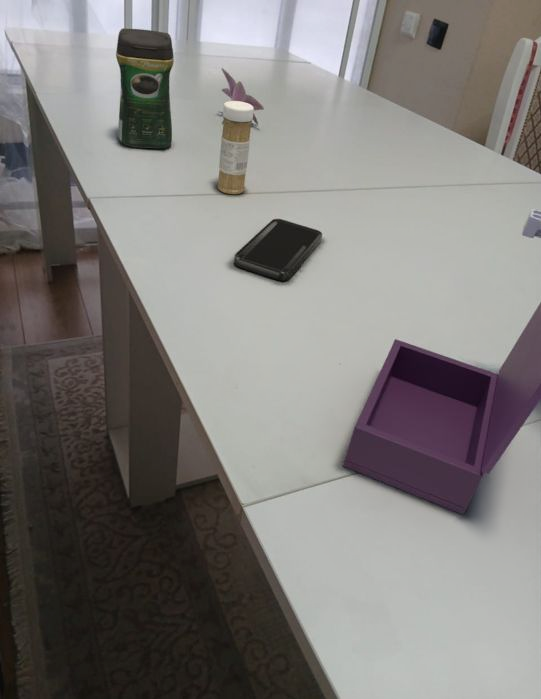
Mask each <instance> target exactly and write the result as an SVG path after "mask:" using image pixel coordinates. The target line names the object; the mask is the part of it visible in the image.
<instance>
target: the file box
mask: <svg viewBox="0 0 541 699" xmlns="http://www.w3.org/2000/svg"><path fill="white" fill-rule="evenodd" d="M498 374H499V373H496V372H492V371H490V370H487V369H485V368H481V367H478V366H476V365H472V364H469V363H467V362H463V361H460V360H457V359H454V358H452V357H449V356H446V355H444V354H440V353H437V352H435V351H431V350H430V349H426V348H422V347H419V346H417V345H414V344H411V343H408V342H405V341H403V340H399V339H397V338H395V339H394V341H393V342H392V345H391V347H390V349H389V352H388V353H387V356H386V358H385V360H384V361H383V365H382V367H381V369H380V371H379V373H378V375H377V378H376V380H375V382H374V384H373V386H372V388H371V391H370V392H369V394H368V397H367V399H366V401H365V403H364V406H363V408H362V410H361V412H360V415H359V416H358V418H357V421H356V423H355V425H354V427H353V432H352V434H351V438H350V441H349V444H348V448H347V450H346V455H345V457H344V461H343V464H342V467H345V468H347V469H349V470H351V471H354V472H357V473H359V474H362V475H363V476H366V477H369V478H371V479H374V480H376V481H378V482H381V483H384V484H386V485H389V486H391V487H393V488H396V489H398V490H401V491H404V492H405V493H408V494H410V495H413V496H416V497H418V498H421V499H423V500H426V501H428V502H431V503H432V504H435V505H438V506H440V507H443V508H445V509H448V510H450V511H453V512H454V513H458V514H460V515H464V514H465V511H466V510H467V508H468V506H469V504H470V502H471V500H472V499H473V496H474V494H475V492H476V491H477V489H478V487H479V485H480V483H481V481H482V479H483V477H484V473H483V472H481V470H482V464H483V458H484V453H485V447H486V442H487V436H488V430H489V425H490V419H491V413H492V408H493V402H494V396H495V391H496V385H497V379H498Z"/></svg>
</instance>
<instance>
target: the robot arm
mask: <svg viewBox="0 0 541 699" xmlns="http://www.w3.org/2000/svg"><path fill="white" fill-rule="evenodd" d="M521 235H522V237H527V238H529V239H534V238H535V237H536V238H540V239H541V211H540V210H537V209H530V211H529V214H528V216H527V219H526V221H525V223H524V225H523V227H522V233H521Z"/></svg>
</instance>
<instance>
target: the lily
mask: <svg viewBox="0 0 541 699" xmlns="http://www.w3.org/2000/svg"><path fill="white" fill-rule="evenodd" d="M221 71H222V74H223V75H224V77H225V79H226V82H227V84H228V87H225V88H222V89H221V92H222V93H224V94H225V95H226V96H227V97H229V98H230V99H231V101H240V102H245V103H248V104H250V105H252V106H253V108H254V111H262V110H265V108H264V106H263V105H262V103H260V102H259V101H258V100H257V99H256V98H255V97H254V96H252V95H250V94H247V92H246V90H245V86H244V84H243V83H242V81H238V82H236V80H235V79H234V78H233V76H232V75H230V73H228V72H227V70H225V69H224V68H223V67H222V68H221ZM223 121H224V119H223V120H222V122H221V124H222V125H223ZM252 121H254V123H255V124H256V125H258V126H259V123H258V119H257V117H256V115H255V113H254V112H253V119H252Z"/></svg>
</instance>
